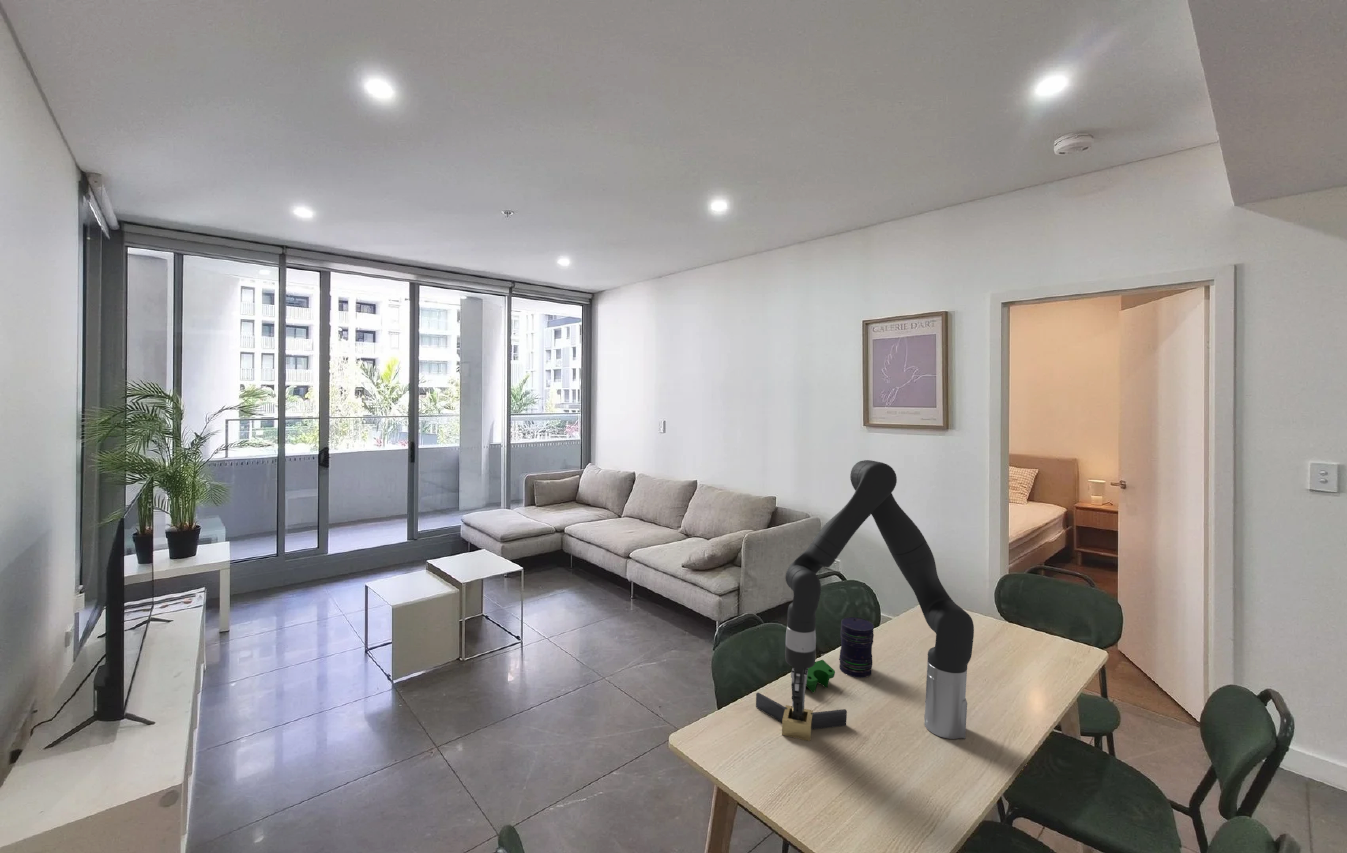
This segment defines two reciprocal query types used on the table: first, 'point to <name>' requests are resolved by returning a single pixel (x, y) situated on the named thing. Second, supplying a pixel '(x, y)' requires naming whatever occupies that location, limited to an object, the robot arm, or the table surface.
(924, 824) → the table surface
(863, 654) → the storage jar
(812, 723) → the hinge
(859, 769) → the table surface
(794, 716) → the hinge pin
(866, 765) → the table surface
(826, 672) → the clamp
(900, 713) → the table surface
